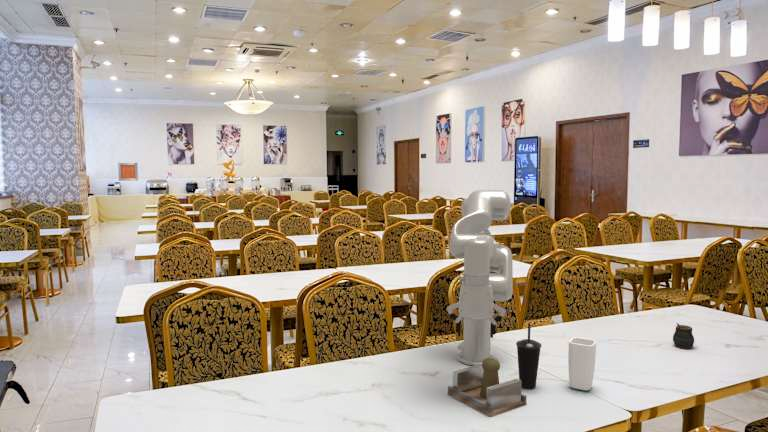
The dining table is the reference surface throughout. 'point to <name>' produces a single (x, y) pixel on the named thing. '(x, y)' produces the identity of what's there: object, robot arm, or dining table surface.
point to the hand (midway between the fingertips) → (475, 335)
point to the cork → (489, 374)
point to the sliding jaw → (468, 378)
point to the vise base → (492, 397)
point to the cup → (581, 363)
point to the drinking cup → (528, 361)
